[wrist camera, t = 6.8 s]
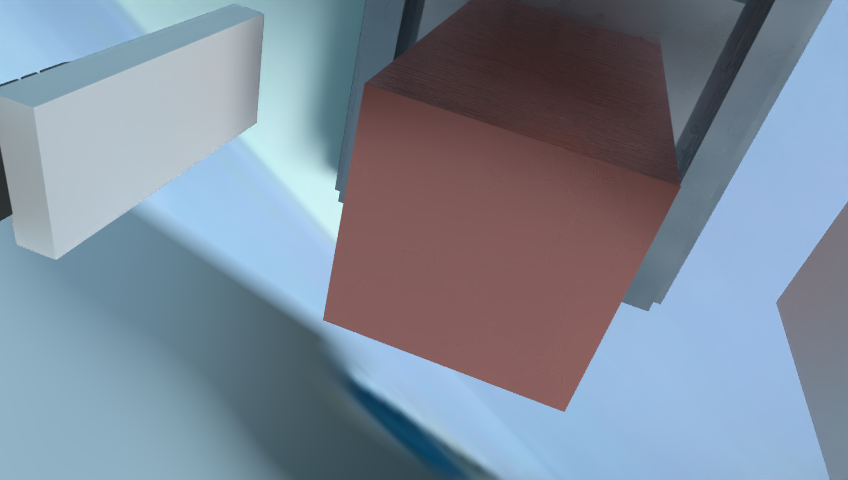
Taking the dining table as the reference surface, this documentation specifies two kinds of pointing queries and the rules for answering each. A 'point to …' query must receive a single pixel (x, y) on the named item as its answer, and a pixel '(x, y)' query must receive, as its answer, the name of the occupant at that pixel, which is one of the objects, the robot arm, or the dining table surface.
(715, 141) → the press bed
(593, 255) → the block
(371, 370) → the dining table surface
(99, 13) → the dining table surface
